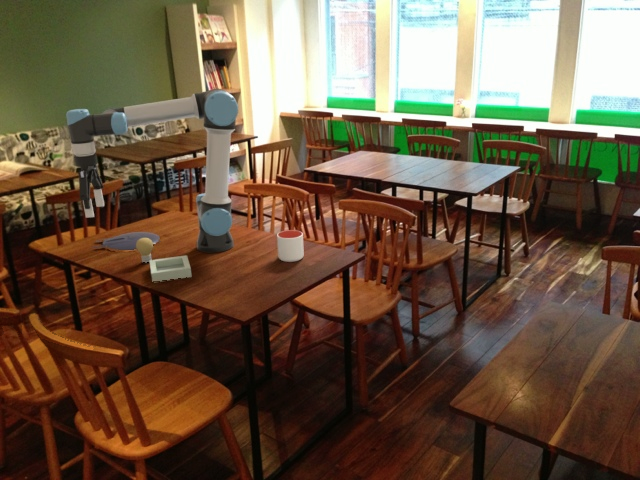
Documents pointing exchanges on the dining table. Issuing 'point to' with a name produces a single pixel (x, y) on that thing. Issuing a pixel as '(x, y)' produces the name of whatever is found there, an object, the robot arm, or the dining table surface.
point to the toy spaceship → (128, 240)
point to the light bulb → (145, 248)
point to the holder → (170, 268)
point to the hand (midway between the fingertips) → (95, 211)
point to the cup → (290, 245)
